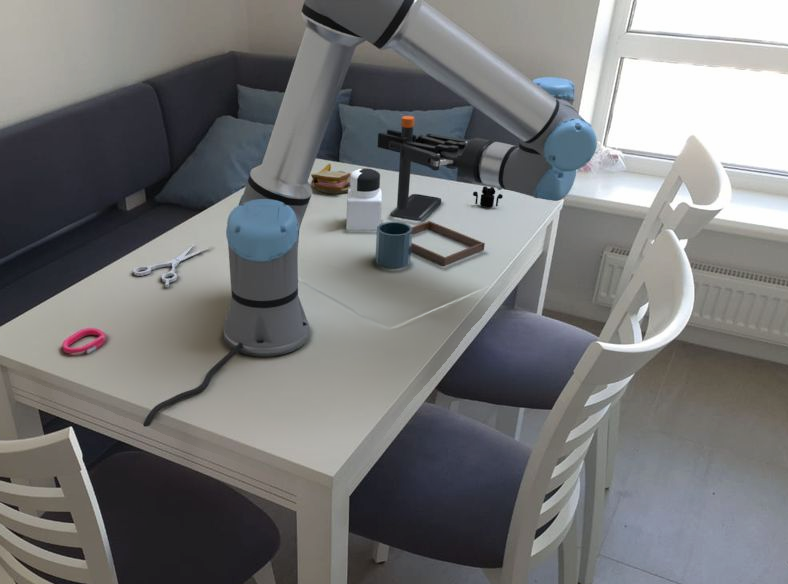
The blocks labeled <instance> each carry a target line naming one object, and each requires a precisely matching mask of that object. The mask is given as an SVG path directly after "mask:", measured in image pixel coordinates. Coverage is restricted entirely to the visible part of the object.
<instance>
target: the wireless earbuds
mask: <svg viewBox="0 0 788 584" xmlns="http://www.w3.org/2000/svg"><path fill="white" fill-rule="evenodd" d="M481 193H482V194H480V201H479V205H480V207H482V208H490V209H491V208H493V207H494V205H495V207H498V206H499V200H501V199H503V196H504V195H503V194H501V193H498V195H497V196H496V199H495V194H496V189H495V187H494V186H491V187H487V186H485V185H484V186H483V187H482V190H481ZM478 194H479V193H478V191H473V192H472V196H473V197H475V201H474V204H475V205H478V199H479V195H478ZM494 202H495V204H494Z"/></svg>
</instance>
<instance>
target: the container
mask: <svg viewBox="0 0 788 584" xmlns="http://www.w3.org/2000/svg"><path fill="white" fill-rule="evenodd" d="M350 174H351V183H350V189H348V192H347V198H346V225H345V227H346V230H347V231H377V226H379V225H380V224H382V206H383V190H382V189H381V188H380V185H381V173H380V172H379V171H377V170H376V169H373V168H365V167H364V168H358V169H355V170H353V171H352V172H351V173H350Z"/></svg>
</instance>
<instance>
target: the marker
mask: <svg viewBox="0 0 788 584" xmlns="http://www.w3.org/2000/svg"><path fill="white" fill-rule="evenodd" d="M400 123H401V124H400V126H401V131H400V132H401V137H402V138H404V137H408V141H410V142H412V140H413V135H414V127H415V116H412V115H403V116H401V122H400ZM411 167H412V162H411V161H408V160H405V159H402V158H400V157H399V165H398V182H397V183H398V184H397V200H396V208H398V209H400V210H405V209H407V208H408V198H409V196H410V183H411V181H410V180H411Z"/></svg>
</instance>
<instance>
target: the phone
mask: <svg viewBox="0 0 788 584" xmlns="http://www.w3.org/2000/svg"><path fill="white" fill-rule="evenodd" d="M441 204H442V198H440V197H437V196H431V195H425V194H420V193H412V194H409V198H408V208H407V209H405V210H400V209H398V208H397V207H395V208H394V209H393V210H392V211H390V216H391V217H393V218H398V219H406V220H410V221H414V222H415V221H416V222H422V223H424V222H425V220H426V219H427V218H428V217H430V215H431V214H432V213H433V212H434V211H435V210H436V209H438V208H439V207H440V206H441Z"/></svg>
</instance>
